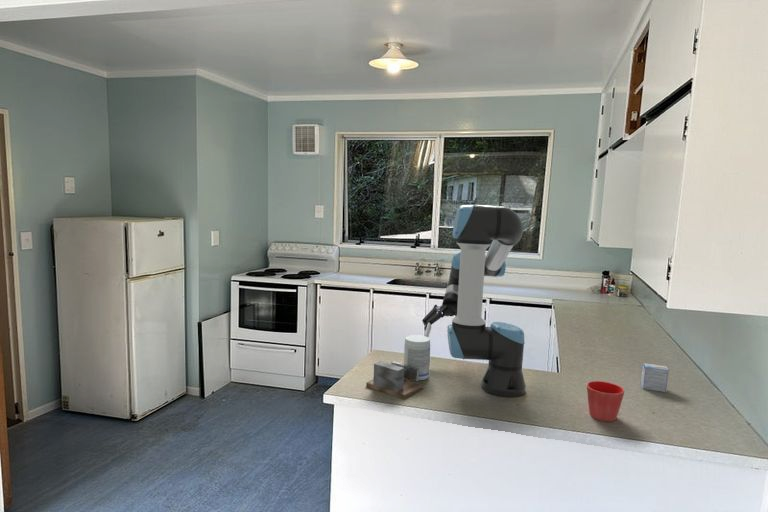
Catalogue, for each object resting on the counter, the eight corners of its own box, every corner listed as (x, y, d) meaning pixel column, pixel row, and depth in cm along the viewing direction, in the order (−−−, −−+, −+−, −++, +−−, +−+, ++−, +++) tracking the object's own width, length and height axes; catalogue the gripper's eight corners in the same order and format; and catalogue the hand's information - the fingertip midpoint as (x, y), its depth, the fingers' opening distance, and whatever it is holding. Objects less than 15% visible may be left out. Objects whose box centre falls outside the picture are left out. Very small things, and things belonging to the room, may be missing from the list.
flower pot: (577, 408, 157) (580, 380, 156) (609, 408, 158) (612, 380, 157) (594, 424, 147) (597, 393, 146) (628, 424, 148) (631, 393, 147)
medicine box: (663, 388, 179) (666, 366, 178) (666, 392, 174) (669, 369, 173) (640, 384, 181) (642, 362, 180) (642, 389, 177) (644, 366, 176)
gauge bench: (422, 388, 168) (423, 364, 167) (404, 399, 159) (405, 373, 158) (385, 377, 178) (386, 353, 177) (366, 386, 168) (367, 361, 167)
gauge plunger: (418, 380, 171) (419, 368, 170) (409, 385, 166) (410, 372, 165) (392, 372, 177) (392, 360, 177) (382, 377, 172) (383, 365, 172)
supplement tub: (433, 378, 179) (436, 340, 177) (413, 383, 173) (415, 343, 172) (418, 370, 187) (420, 333, 185) (398, 374, 181) (399, 336, 180)
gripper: (484, 304, 200) (475, 344, 185) (427, 304, 210) (415, 342, 196) (480, 291, 195) (471, 332, 181) (423, 292, 206) (410, 330, 192)
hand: (442, 337), depth 188 cm, fingers open, 13 cm apart
